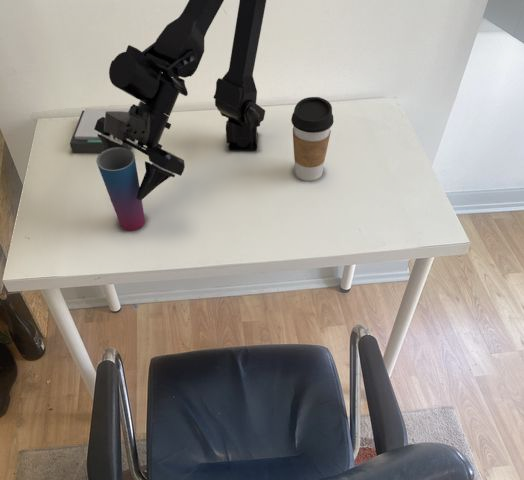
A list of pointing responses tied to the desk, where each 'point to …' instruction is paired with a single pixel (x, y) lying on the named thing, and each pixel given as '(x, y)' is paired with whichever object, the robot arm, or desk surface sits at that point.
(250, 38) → the robot arm
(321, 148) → the coffee cup
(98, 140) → the scale
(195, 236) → the desk surface
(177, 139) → the desk surface
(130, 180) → the cup
